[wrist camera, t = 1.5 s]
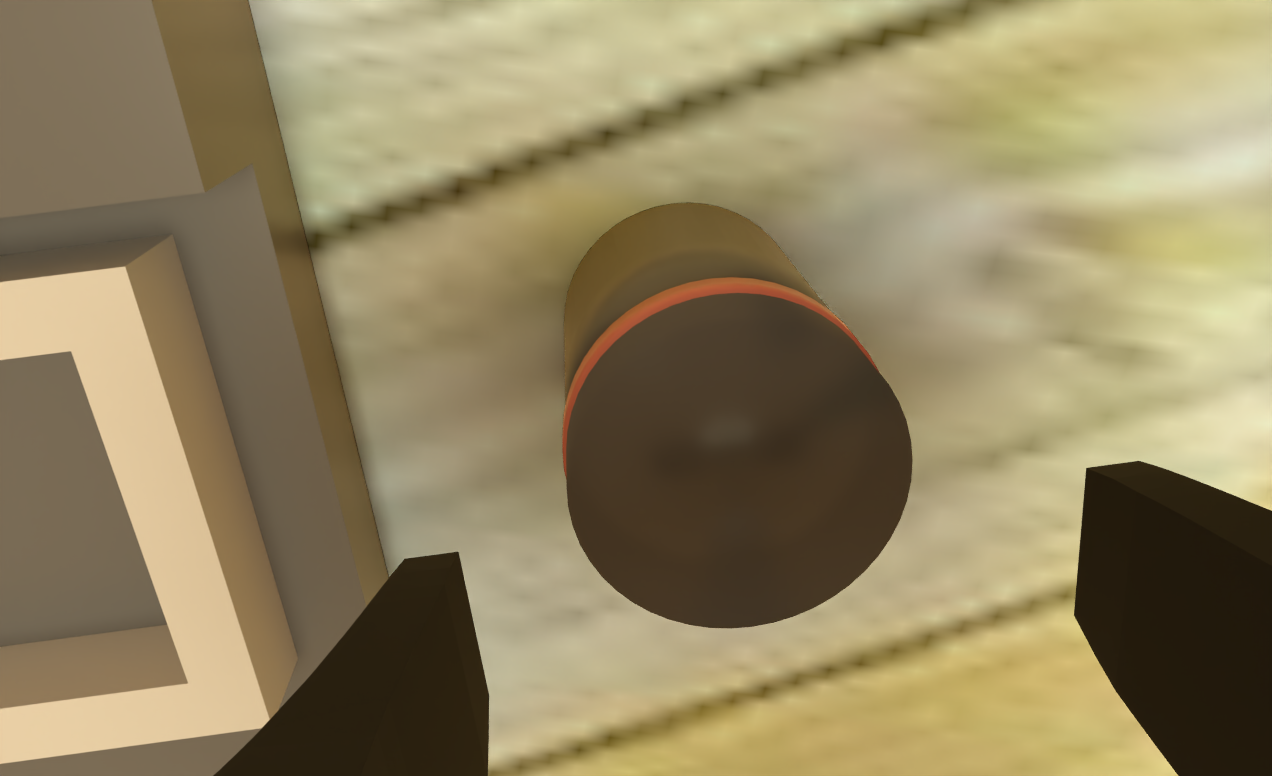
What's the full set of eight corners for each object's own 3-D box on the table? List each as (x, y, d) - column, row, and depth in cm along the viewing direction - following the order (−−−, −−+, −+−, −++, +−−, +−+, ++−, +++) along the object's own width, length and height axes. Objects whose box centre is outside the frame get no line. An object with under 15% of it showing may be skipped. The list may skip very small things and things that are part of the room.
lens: (808, 414, 21) (916, 606, 15) (578, 444, 21) (587, 651, 15) (796, 185, 19) (915, 291, 13) (545, 216, 19) (538, 340, 13)
